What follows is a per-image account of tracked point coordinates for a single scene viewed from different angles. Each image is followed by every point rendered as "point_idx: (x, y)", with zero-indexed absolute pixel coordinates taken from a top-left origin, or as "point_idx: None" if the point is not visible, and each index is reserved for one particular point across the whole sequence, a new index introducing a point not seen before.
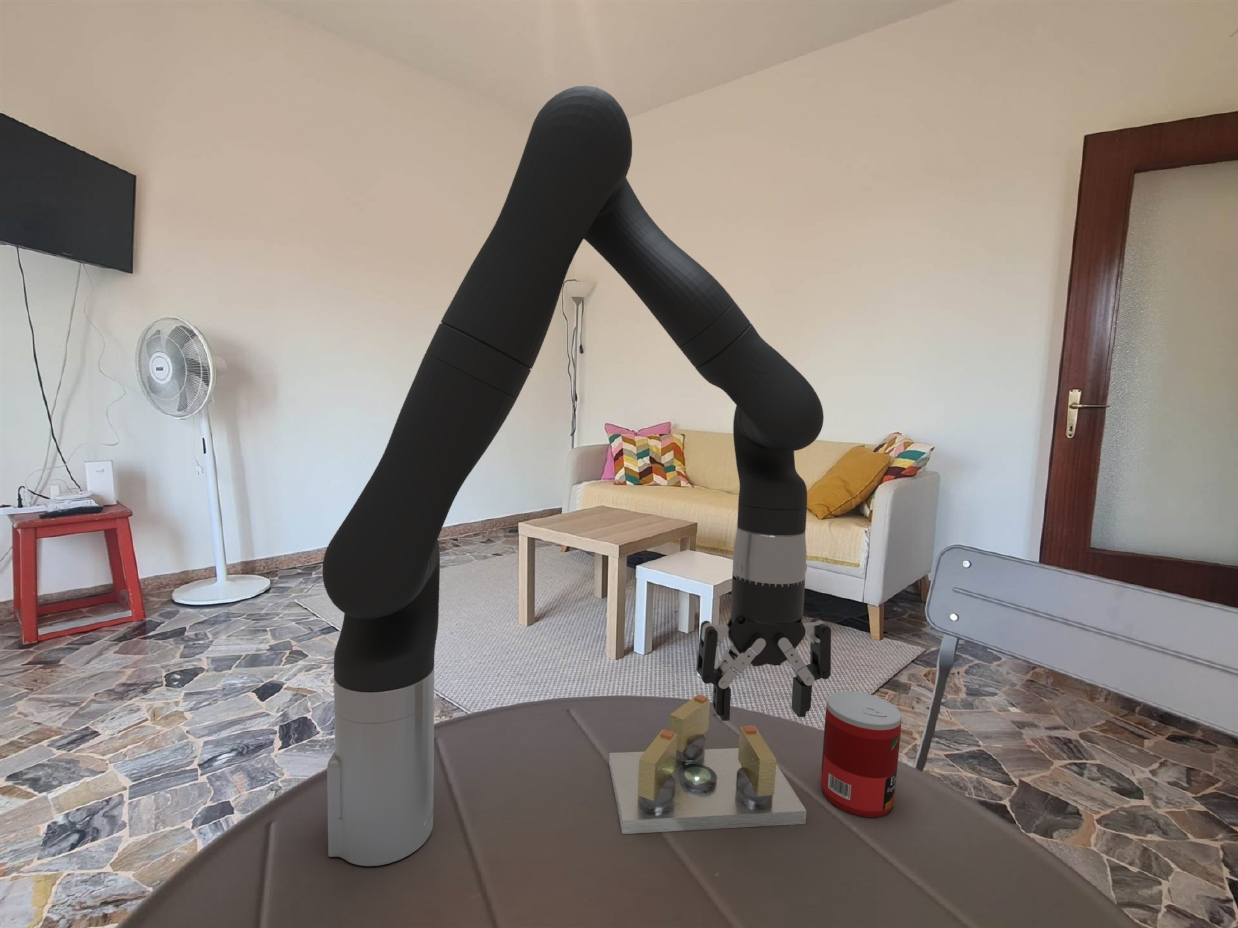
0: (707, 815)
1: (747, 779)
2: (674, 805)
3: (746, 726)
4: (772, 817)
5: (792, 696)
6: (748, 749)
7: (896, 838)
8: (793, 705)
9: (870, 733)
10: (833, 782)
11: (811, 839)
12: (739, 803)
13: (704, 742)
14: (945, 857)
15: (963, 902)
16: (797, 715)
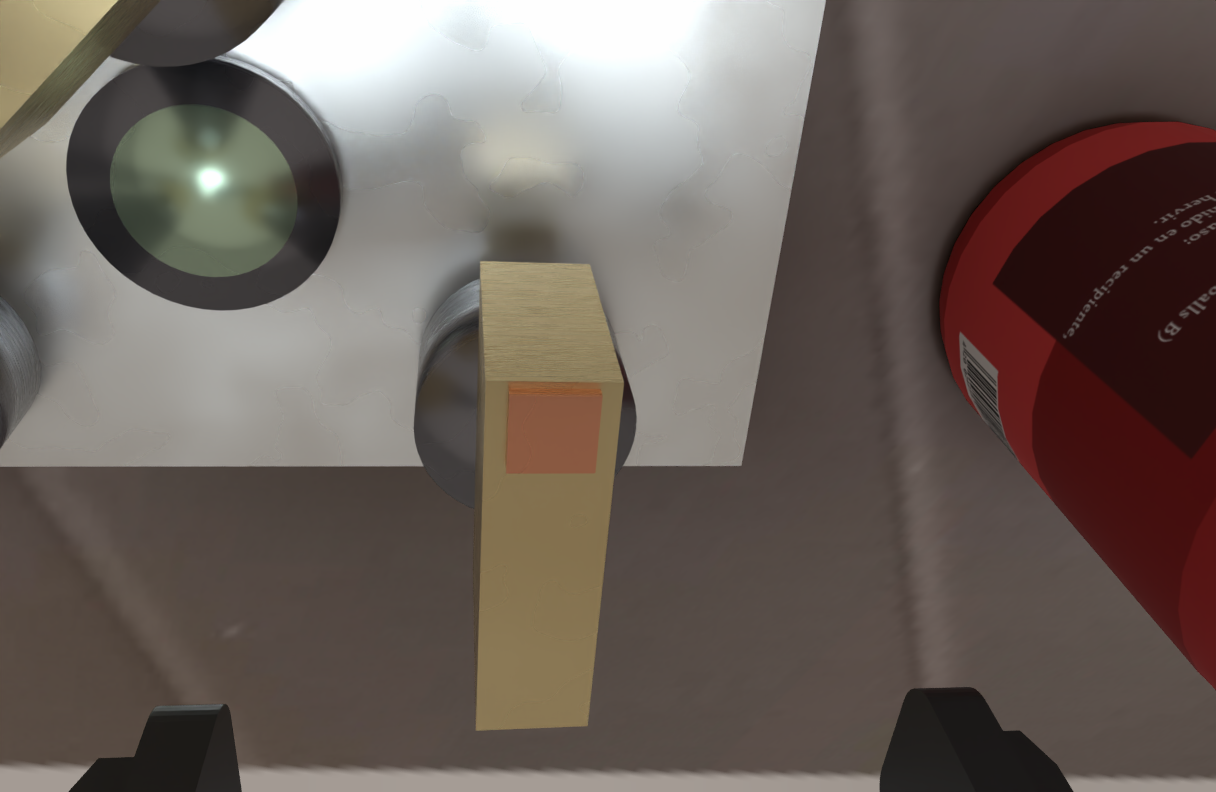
0: (223, 459)
1: (468, 446)
2: (37, 390)
3: (535, 411)
4: None
5: (964, 775)
6: (479, 524)
7: (1034, 522)
8: (924, 738)
9: None
10: (982, 388)
11: (697, 507)
12: None
13: (272, 10)
14: (1118, 604)
15: None
16: (884, 769)
